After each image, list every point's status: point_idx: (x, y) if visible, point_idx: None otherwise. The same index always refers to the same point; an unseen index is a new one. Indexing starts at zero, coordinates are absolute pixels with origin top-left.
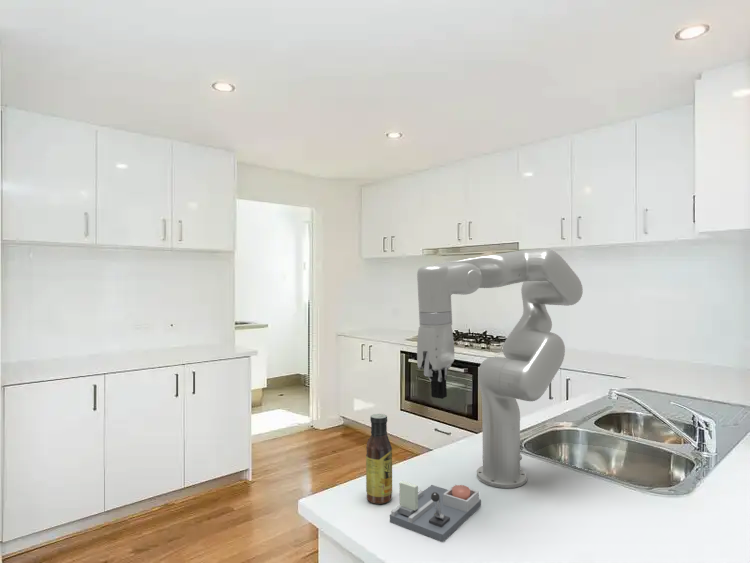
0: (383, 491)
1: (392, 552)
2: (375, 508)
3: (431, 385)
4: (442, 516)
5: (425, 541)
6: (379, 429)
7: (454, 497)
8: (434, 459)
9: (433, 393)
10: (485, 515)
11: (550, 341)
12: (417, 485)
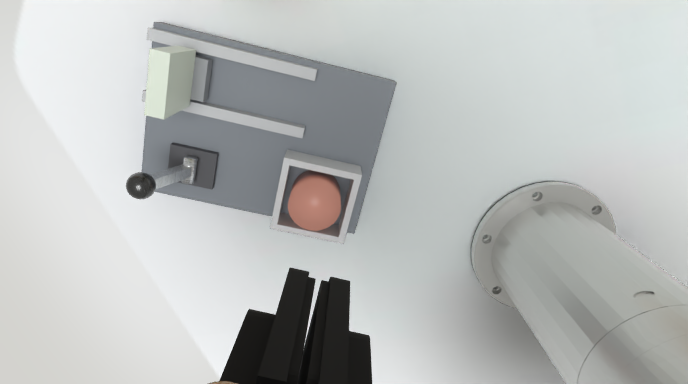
0: None
1: (40, 85)
2: None
3: (270, 334)
4: (181, 181)
5: (129, 144)
6: None
7: (279, 192)
8: (650, 12)
9: (247, 314)
10: (312, 243)
11: None
12: (163, 118)
